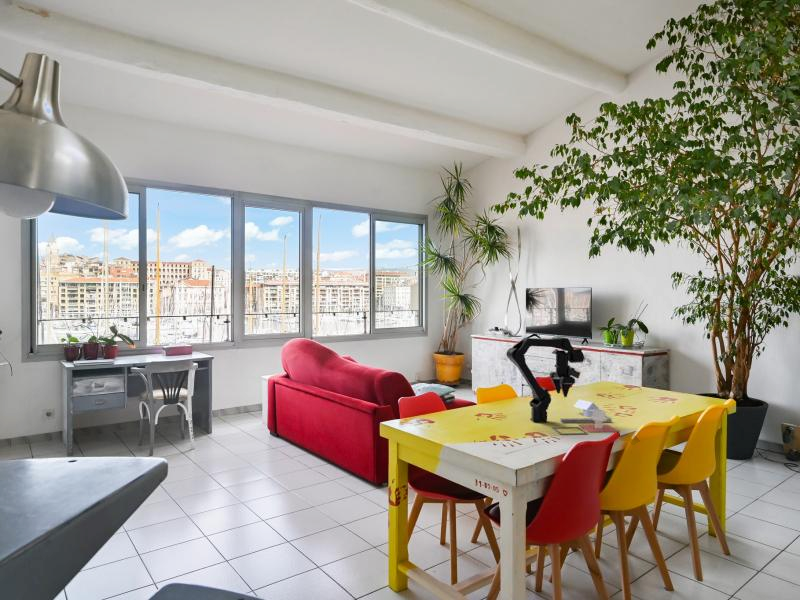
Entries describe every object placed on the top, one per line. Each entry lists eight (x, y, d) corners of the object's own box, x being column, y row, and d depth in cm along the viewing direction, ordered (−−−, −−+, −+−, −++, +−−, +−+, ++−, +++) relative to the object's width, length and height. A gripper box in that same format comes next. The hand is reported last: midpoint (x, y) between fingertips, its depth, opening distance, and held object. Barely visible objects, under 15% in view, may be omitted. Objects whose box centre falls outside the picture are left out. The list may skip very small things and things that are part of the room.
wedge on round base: (573, 413, 269) (594, 418, 258) (573, 400, 269) (594, 404, 258) (585, 411, 274) (606, 416, 263) (585, 398, 274) (606, 403, 263)
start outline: (560, 434, 228) (560, 433, 228) (552, 428, 239) (552, 427, 239) (588, 434, 229) (588, 433, 229) (578, 427, 240) (578, 427, 240)
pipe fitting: (599, 425, 243) (599, 408, 243) (609, 429, 236) (610, 411, 236) (587, 426, 242) (588, 408, 241) (597, 430, 235) (597, 412, 235)
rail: (562, 422, 249) (562, 419, 249) (560, 421, 251) (560, 418, 251) (611, 422, 250) (611, 419, 250) (609, 421, 253) (609, 417, 253)
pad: (589, 432, 233) (589, 431, 233) (578, 425, 245) (578, 424, 245) (620, 431, 233) (620, 431, 233) (607, 425, 245) (607, 424, 245)
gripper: (586, 365, 246) (585, 398, 246) (571, 360, 265) (570, 391, 265) (562, 365, 245) (562, 399, 246) (549, 360, 264) (549, 391, 264)
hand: (561, 395), depth 255 cm, fingers open, 9 cm apart
